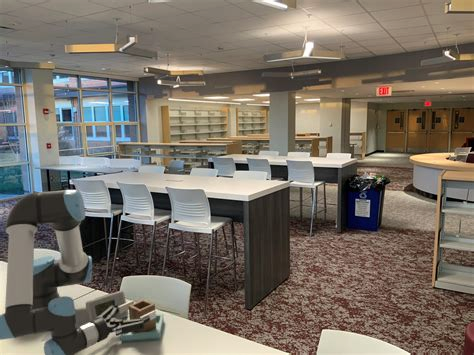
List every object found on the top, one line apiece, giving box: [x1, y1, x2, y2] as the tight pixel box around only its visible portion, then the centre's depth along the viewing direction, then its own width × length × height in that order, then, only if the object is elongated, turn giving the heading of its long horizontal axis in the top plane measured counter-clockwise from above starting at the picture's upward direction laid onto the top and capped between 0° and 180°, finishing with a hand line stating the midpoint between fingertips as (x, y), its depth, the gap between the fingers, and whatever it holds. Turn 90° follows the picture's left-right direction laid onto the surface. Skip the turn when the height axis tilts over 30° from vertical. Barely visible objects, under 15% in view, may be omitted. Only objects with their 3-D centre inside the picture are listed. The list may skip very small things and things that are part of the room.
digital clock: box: [85, 290, 129, 322], centre depth 156 cm, size 16×9×11 cm, turn 119°
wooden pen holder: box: [128, 298, 156, 333], centre depth 147 cm, size 7×7×10 cm
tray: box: [120, 313, 165, 344], centre depth 147 cm, size 14×14×3 cm
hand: (144, 308), depth 147 cm, fingers open, 13 cm apart
